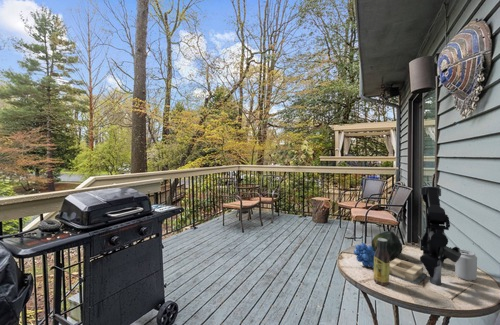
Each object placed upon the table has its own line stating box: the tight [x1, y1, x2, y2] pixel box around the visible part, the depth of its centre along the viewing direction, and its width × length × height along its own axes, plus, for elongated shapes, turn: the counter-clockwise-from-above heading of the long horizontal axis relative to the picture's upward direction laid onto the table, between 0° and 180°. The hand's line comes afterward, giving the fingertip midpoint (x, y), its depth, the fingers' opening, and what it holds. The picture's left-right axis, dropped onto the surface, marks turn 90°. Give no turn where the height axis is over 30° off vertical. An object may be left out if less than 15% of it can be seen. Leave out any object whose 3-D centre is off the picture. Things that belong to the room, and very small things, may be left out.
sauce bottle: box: [372, 238, 391, 286], centre depth 111 cm, size 6×6×20 cm
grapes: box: [353, 242, 375, 268], centre depth 126 cm, size 12×7×12 cm, turn 59°
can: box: [454, 249, 478, 282], centre depth 114 cm, size 8×8×12 cm
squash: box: [370, 230, 403, 259], centre depth 140 cm, size 14×15×15 cm
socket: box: [389, 257, 428, 286], centre depth 119 cm, size 12×15×4 cm
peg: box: [429, 261, 442, 286], centre depth 110 cm, size 4×4×10 cm
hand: (435, 274), depth 110 cm, fingers open, 9 cm apart
